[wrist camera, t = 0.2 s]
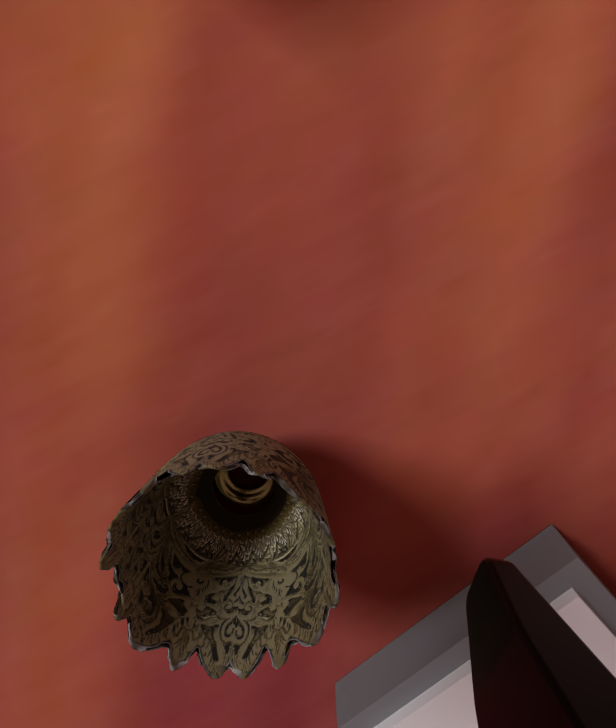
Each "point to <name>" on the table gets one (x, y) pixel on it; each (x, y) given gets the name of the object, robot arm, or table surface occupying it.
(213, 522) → the cup
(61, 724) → the table surface
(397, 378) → the table surface
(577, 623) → the dial scale
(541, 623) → the robot arm
